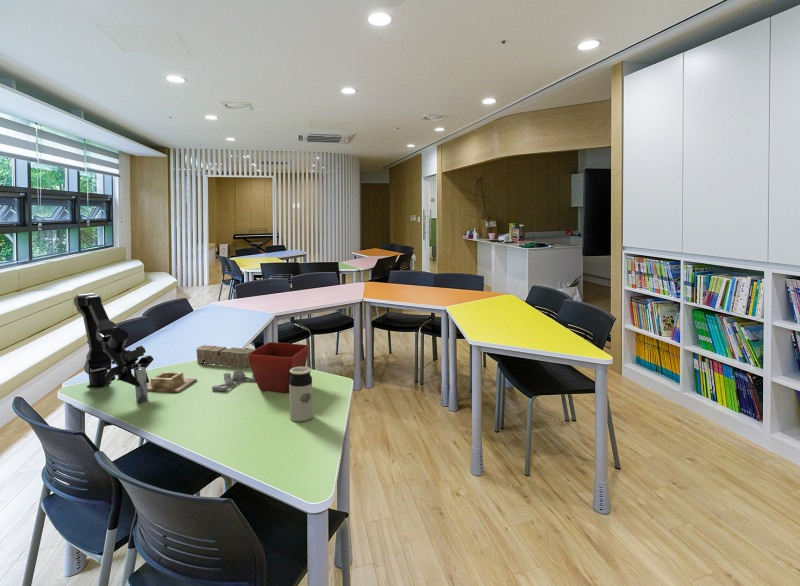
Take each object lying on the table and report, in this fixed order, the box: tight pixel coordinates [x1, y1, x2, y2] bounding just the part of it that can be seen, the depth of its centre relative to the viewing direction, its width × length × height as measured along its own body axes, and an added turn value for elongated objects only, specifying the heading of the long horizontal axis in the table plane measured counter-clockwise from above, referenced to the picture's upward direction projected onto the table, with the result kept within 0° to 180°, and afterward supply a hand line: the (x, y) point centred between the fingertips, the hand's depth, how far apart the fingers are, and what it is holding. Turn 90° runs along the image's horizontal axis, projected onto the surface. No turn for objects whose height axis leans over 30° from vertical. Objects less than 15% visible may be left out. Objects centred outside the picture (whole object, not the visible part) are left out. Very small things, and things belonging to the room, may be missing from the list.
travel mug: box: [289, 366, 314, 423], centre depth 168 cm, size 8×8×18 cm
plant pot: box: [248, 341, 310, 394], centre depth 197 cm, size 19×19×17 cm
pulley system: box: [211, 370, 256, 392], centre depth 205 cm, size 27×5×15 cm
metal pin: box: [133, 367, 149, 404], centre depth 182 cm, size 4×4×13 cm
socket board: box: [147, 371, 198, 393], centre depth 199 cm, size 18×14×4 cm
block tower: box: [195, 344, 256, 369], centre depth 229 cm, size 8×8×29 cm
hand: (143, 384), depth 181 cm, fingers closed on metal pin, 4 cm apart
